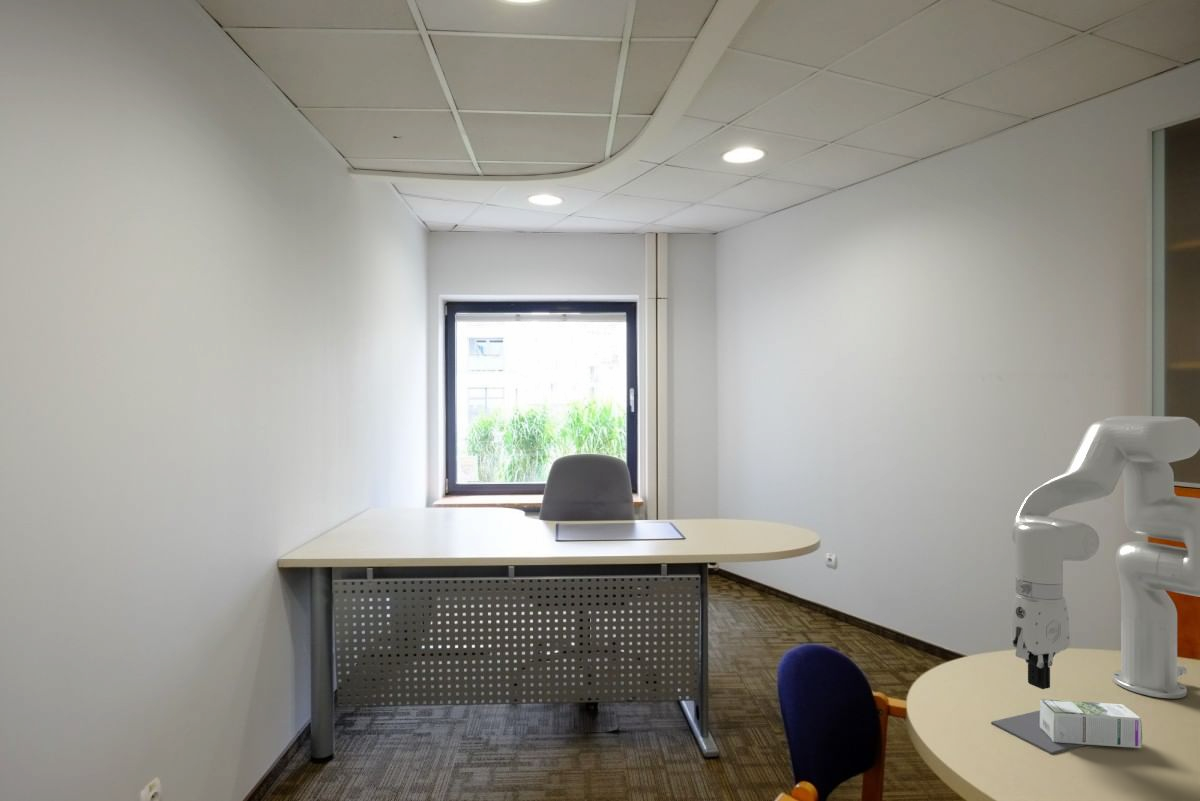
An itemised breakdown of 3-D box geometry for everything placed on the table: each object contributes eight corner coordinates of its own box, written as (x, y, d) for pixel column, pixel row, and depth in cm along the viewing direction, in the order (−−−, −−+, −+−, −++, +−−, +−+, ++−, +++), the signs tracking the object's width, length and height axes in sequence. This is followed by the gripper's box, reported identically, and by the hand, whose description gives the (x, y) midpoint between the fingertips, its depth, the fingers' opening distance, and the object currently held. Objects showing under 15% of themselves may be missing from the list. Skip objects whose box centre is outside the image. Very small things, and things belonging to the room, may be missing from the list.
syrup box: (1053, 743, 122) (1142, 750, 120) (1054, 711, 122) (1143, 718, 120) (1038, 727, 128) (1123, 734, 125) (1039, 697, 128) (1124, 703, 125)
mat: (1055, 708, 137) (1055, 706, 137) (1118, 736, 126) (1118, 734, 126) (991, 723, 131) (991, 721, 131) (1051, 754, 119) (1051, 752, 119)
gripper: (1029, 599, 120) (1029, 700, 120) (1086, 590, 126) (1086, 687, 126) (992, 587, 127) (992, 684, 128) (1047, 580, 133) (1047, 672, 133)
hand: (1038, 685), depth 127 cm, fingers closed
